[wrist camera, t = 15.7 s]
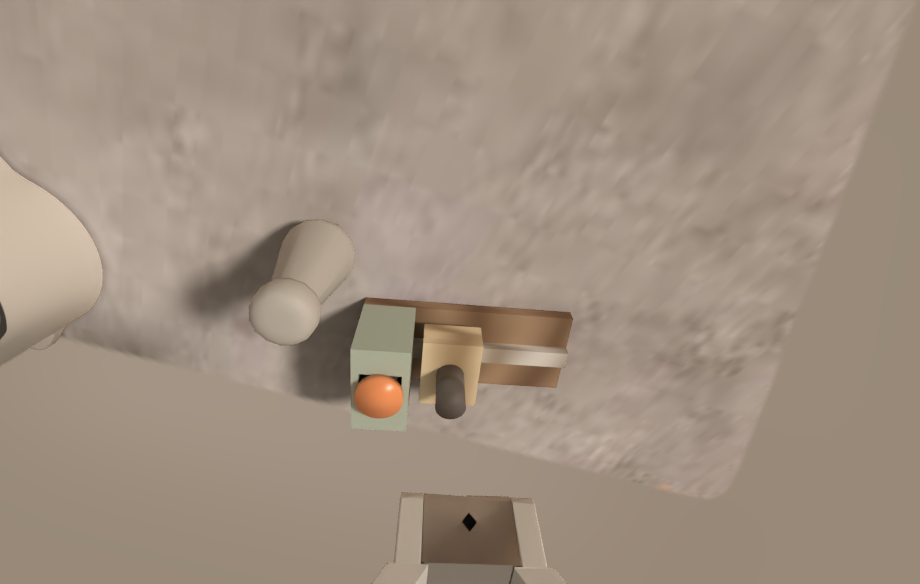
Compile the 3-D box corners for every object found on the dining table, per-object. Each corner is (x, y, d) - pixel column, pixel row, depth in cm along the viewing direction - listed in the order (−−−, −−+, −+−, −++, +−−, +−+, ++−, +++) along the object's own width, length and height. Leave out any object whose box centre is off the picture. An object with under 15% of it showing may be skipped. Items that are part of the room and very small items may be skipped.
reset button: (362, 379, 42) (353, 417, 38) (363, 343, 41) (353, 379, 36) (405, 381, 43) (401, 419, 38) (407, 346, 41) (403, 382, 37)
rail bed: (365, 368, 47) (361, 382, 45) (365, 297, 43) (362, 309, 41) (553, 380, 49) (558, 394, 47) (570, 312, 45) (575, 324, 43)
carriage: (420, 381, 45) (416, 436, 39) (424, 323, 42) (421, 372, 36) (472, 384, 45) (477, 439, 39) (480, 327, 42) (487, 377, 36)
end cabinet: (363, 376, 46) (350, 428, 40) (363, 303, 42) (350, 349, 36) (411, 378, 46) (406, 431, 40) (415, 307, 43) (411, 353, 37)
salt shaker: (336, 285, 43) (297, 376, 31) (278, 250, 41) (214, 332, 30) (372, 236, 41) (344, 314, 29) (312, 196, 39) (257, 263, 27)
